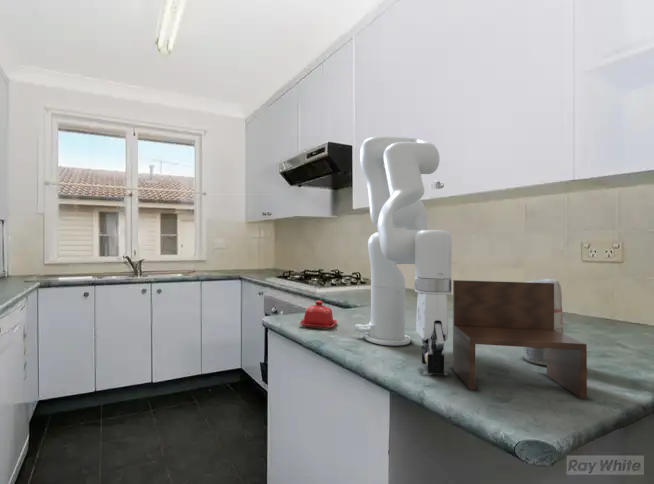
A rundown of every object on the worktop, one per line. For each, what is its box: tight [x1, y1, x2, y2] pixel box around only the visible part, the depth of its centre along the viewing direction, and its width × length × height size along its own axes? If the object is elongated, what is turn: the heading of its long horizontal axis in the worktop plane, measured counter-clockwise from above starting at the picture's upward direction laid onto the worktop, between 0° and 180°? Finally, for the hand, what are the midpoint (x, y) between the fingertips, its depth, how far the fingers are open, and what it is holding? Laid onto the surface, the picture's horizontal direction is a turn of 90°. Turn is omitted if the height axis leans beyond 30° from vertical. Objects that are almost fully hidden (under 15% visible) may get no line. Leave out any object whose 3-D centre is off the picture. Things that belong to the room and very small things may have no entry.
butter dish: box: [299, 299, 338, 330], centre depth 125 cm, size 12×12×8 cm
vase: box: [422, 343, 449, 376], centre depth 82 cm, size 5×5×6 cm
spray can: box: [523, 278, 564, 366], centre depth 90 cm, size 8×8×20 cm
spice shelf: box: [452, 279, 588, 399], centre depth 76 cm, size 20×12×20 cm, turn 79°
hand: (432, 367), depth 82 cm, fingers closed on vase, 5 cm apart
